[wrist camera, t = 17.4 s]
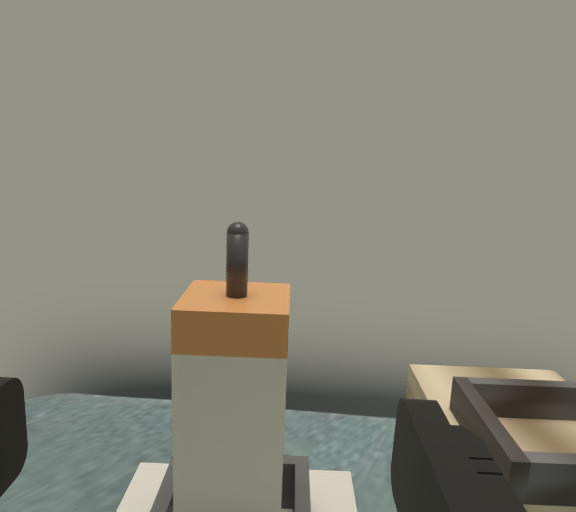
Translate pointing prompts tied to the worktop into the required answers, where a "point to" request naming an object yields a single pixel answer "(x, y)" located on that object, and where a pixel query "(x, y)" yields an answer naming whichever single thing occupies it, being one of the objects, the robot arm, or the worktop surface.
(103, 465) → the worktop surface
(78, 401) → the worktop surface
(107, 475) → the worktop surface
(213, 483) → the plug
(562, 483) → the upper block
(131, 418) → the worktop surface
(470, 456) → the robot arm
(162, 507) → the lower plate
